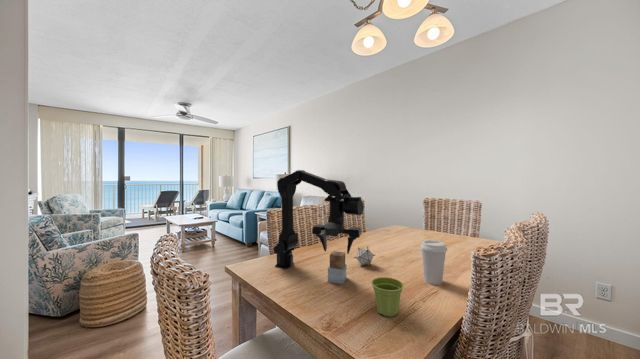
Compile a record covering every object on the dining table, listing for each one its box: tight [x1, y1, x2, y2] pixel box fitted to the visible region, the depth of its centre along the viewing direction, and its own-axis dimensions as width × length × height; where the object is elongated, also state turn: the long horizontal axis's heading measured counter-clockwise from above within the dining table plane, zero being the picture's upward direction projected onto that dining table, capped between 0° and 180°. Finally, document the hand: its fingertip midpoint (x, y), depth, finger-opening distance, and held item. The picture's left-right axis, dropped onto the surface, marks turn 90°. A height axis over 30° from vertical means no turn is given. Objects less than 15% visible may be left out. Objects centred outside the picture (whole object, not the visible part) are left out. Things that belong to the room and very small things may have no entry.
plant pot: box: [371, 276, 404, 317], centre depth 77 cm, size 9×9×9 cm
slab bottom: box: [327, 275, 347, 285], centre depth 100 cm, size 6×6×2 cm
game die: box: [353, 246, 376, 267], centre depth 115 cm, size 9×8×10 cm
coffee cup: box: [419, 239, 448, 286], centre depth 98 cm, size 10×10×15 cm
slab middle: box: [327, 270, 347, 280], centre depth 99 cm, size 6×6×2 cm
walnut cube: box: [329, 250, 346, 269], centre depth 99 cm, size 5×5×5 cm
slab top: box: [327, 263, 348, 275], centre depth 100 cm, size 6×6×2 cm
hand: (336, 252), depth 100 cm, fingers open, 9 cm apart
